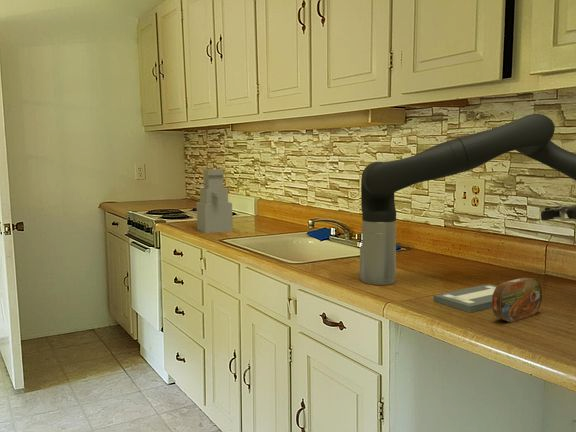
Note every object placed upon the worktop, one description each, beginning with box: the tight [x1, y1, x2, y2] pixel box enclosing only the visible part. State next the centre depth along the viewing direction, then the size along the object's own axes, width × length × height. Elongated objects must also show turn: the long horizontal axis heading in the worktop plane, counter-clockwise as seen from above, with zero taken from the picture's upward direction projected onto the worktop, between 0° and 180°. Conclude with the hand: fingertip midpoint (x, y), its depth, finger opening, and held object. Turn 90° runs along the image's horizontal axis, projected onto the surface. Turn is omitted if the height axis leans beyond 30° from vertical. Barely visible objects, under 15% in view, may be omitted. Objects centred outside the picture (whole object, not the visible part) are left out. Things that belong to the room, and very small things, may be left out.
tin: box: [492, 277, 543, 323], centre depth 118 cm, size 15×3×8 cm, turn 124°
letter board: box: [433, 283, 498, 314], centre depth 132 cm, size 11×20×2 cm, turn 121°
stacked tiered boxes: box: [196, 168, 234, 234], centre depth 250 cm, size 13×24×28 cm, turn 26°
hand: (559, 217), depth 123 cm, fingers open, 8 cm apart
